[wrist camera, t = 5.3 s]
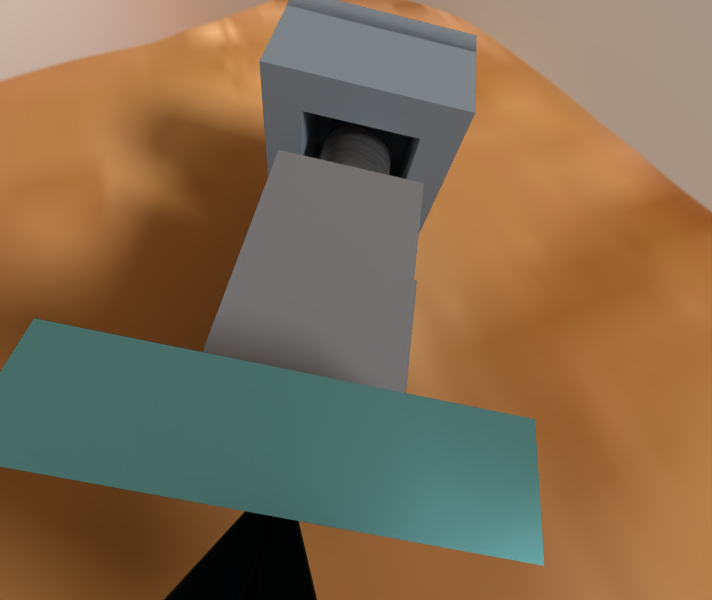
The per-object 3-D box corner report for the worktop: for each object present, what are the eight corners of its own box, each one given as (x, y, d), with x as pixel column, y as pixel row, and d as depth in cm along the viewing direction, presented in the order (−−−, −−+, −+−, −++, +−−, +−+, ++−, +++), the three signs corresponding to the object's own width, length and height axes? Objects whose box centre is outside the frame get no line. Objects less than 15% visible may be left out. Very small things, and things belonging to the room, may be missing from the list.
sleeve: (375, 456, 15) (450, 410, 8) (217, 425, 14) (146, 350, 7) (393, 316, 18) (459, 191, 11) (261, 288, 17) (241, 141, 10)
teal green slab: (371, 525, 13) (543, 565, 4) (188, 491, 12) (-54, 456, 4) (409, 218, 19) (507, -24, 10) (288, 191, 19) (285, -82, 10)
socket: (397, 279, 19) (475, 112, 11) (273, 252, 18) (259, 60, 10) (405, 216, 21) (476, 35, 13) (293, 190, 20) (294, -11, 12)
